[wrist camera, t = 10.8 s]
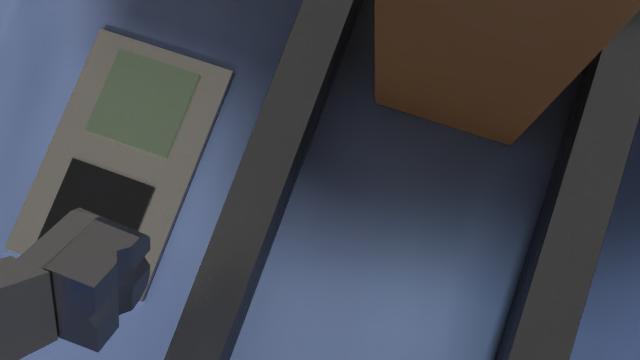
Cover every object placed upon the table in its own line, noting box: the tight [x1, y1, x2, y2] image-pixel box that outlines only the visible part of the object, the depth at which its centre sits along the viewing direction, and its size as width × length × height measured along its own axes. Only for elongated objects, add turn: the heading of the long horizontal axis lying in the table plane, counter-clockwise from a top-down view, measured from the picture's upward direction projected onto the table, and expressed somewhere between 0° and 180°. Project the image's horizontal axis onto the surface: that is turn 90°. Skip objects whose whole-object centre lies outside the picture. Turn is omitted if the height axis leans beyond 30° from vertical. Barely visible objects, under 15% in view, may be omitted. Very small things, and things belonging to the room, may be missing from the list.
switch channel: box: [5, 0, 640, 360], centre depth 17 cm, size 24×17×4 cm
